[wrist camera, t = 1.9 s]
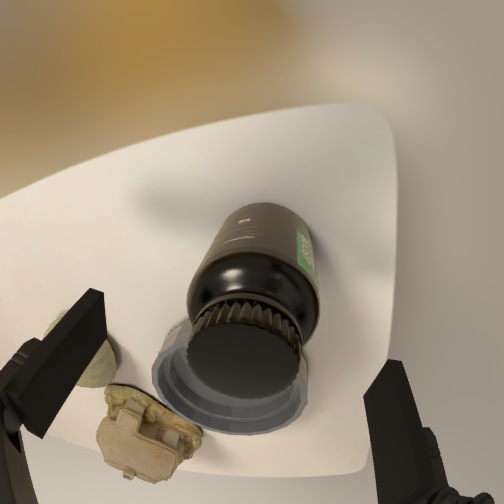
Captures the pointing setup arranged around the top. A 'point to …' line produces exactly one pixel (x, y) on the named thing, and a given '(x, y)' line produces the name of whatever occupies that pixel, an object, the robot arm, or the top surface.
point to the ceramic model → (144, 436)
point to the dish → (221, 406)
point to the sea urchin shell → (96, 365)
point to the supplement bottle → (253, 303)
